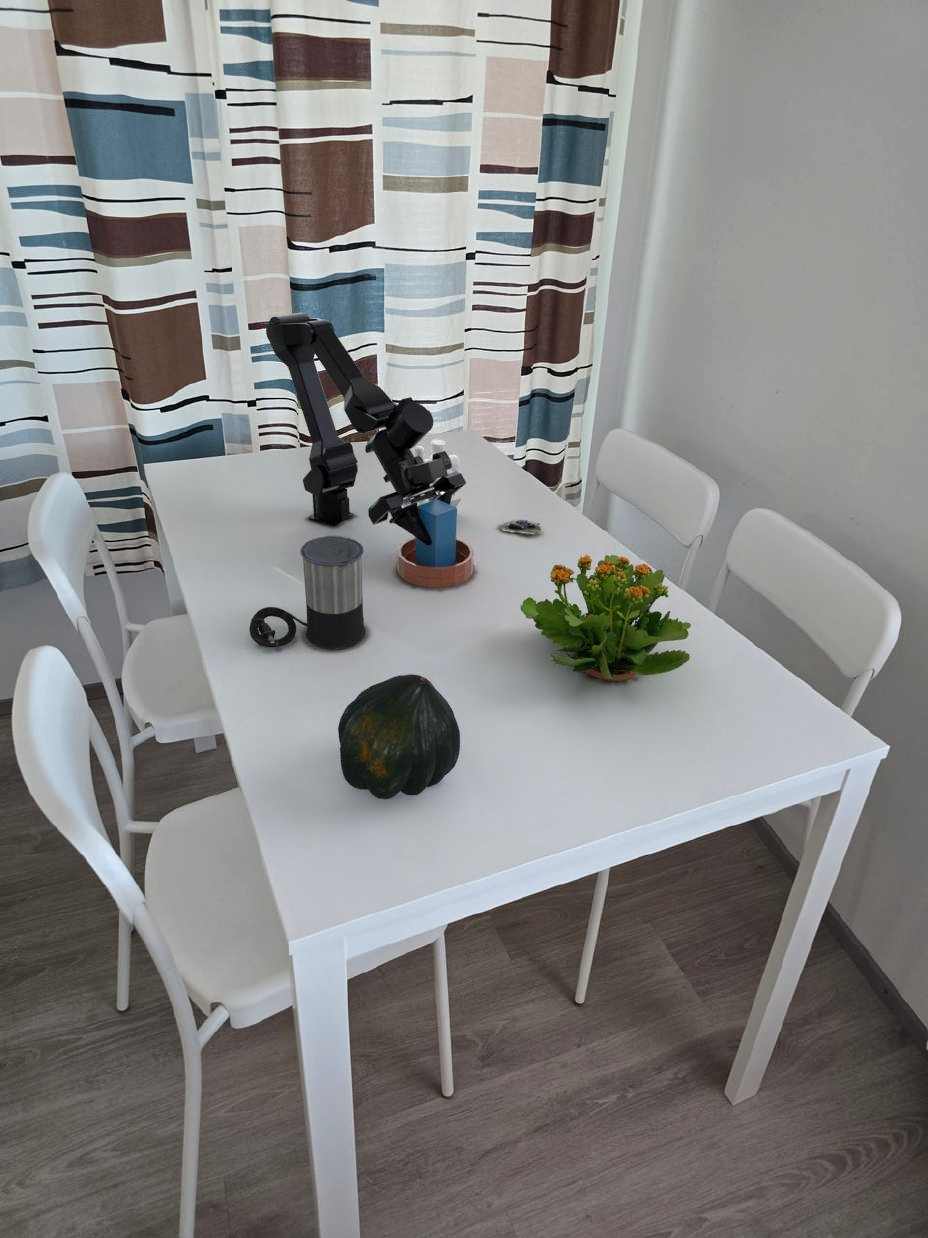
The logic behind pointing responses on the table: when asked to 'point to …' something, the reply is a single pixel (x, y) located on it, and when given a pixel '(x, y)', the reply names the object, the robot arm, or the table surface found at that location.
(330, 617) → the milk frother
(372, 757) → the squash
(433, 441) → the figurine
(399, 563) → the terracotta bowl
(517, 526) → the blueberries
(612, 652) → the potted flower
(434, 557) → the blue rectangular block
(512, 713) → the table surface
